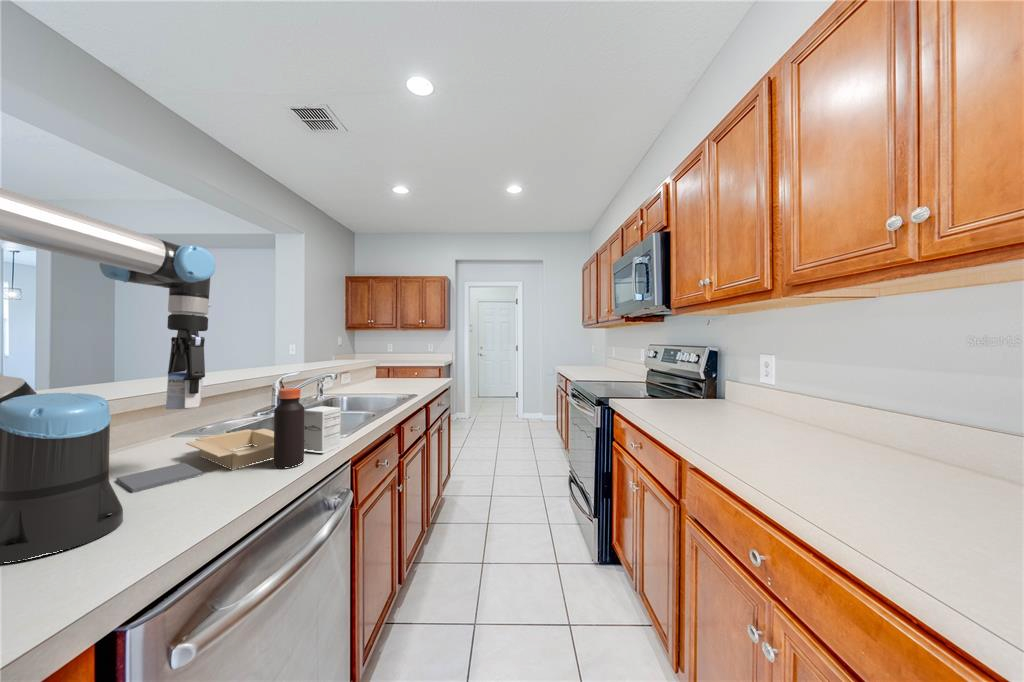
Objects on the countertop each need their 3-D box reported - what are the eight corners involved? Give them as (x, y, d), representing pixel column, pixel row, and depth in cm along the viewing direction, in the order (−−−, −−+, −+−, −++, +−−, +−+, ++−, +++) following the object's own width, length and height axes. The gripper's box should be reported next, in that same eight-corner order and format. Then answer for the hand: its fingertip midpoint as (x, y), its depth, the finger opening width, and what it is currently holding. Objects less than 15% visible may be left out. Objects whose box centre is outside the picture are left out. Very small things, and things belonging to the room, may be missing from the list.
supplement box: (301, 452, 105) (302, 409, 105) (321, 445, 113) (322, 405, 113) (321, 455, 103) (322, 411, 103) (341, 447, 110) (341, 406, 110)
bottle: (309, 461, 98) (310, 388, 98) (291, 470, 91) (292, 391, 91) (286, 460, 99) (287, 387, 99) (267, 468, 92) (267, 390, 92)
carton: (304, 454, 103) (304, 439, 103) (223, 476, 87) (223, 457, 87) (259, 440, 117) (259, 427, 117) (181, 457, 100) (181, 441, 100)
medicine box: (179, 405, 92) (181, 371, 92) (201, 404, 94) (203, 371, 94) (165, 409, 85) (167, 373, 85) (189, 409, 87) (191, 373, 87)
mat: (202, 475, 87) (202, 471, 87) (132, 492, 77) (132, 488, 77) (183, 465, 94) (183, 462, 94) (116, 480, 83) (116, 477, 83)
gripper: (225, 314, 88) (221, 407, 87) (191, 317, 99) (187, 400, 98) (185, 311, 81) (180, 411, 80) (154, 315, 92) (149, 403, 92)
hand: (184, 405), depth 89 cm, fingers closed on medicine box, 9 cm apart
